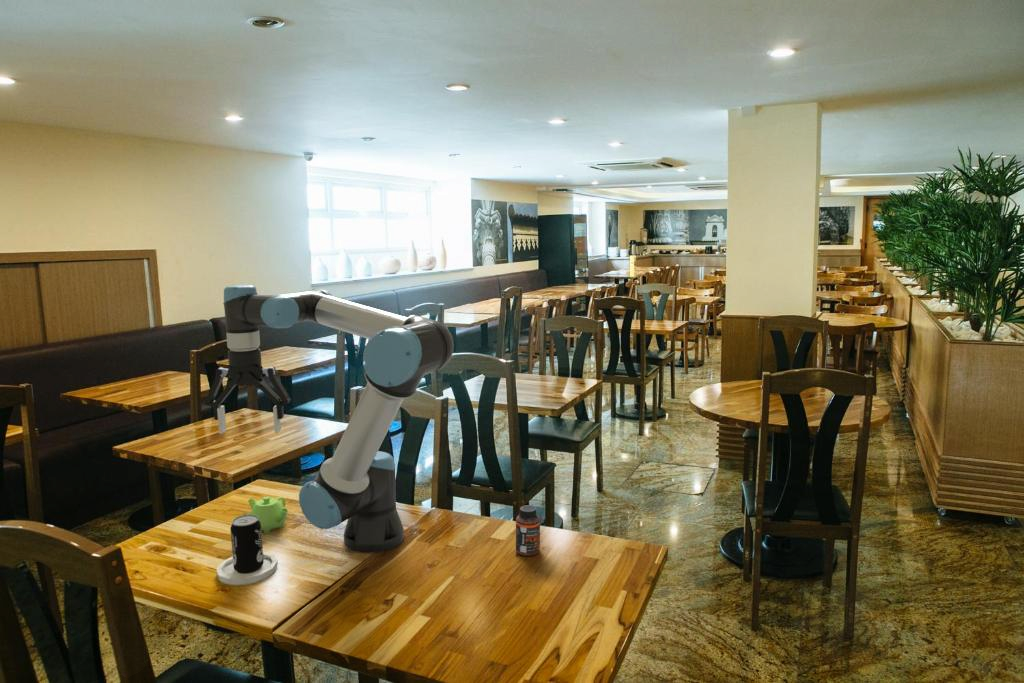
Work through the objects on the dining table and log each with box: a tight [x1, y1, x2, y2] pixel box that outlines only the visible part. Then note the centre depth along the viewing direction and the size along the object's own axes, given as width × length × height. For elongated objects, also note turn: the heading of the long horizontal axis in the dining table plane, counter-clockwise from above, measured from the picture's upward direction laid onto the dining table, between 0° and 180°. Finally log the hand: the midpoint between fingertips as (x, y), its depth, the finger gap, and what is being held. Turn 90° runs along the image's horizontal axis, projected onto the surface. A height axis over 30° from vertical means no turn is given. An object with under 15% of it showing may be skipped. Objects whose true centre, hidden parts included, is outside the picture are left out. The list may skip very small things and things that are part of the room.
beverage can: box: [230, 514, 264, 574], centre depth 161 cm, size 7×7×12 cm
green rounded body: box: [241, 496, 289, 534], centre depth 185 cm, size 11×12×8 cm
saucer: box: [216, 551, 279, 587], centre depth 162 cm, size 13×13×2 cm
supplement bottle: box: [515, 504, 541, 557], centre depth 170 cm, size 6×6×11 cm
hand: (250, 431), depth 173 cm, fingers open, 13 cm apart
